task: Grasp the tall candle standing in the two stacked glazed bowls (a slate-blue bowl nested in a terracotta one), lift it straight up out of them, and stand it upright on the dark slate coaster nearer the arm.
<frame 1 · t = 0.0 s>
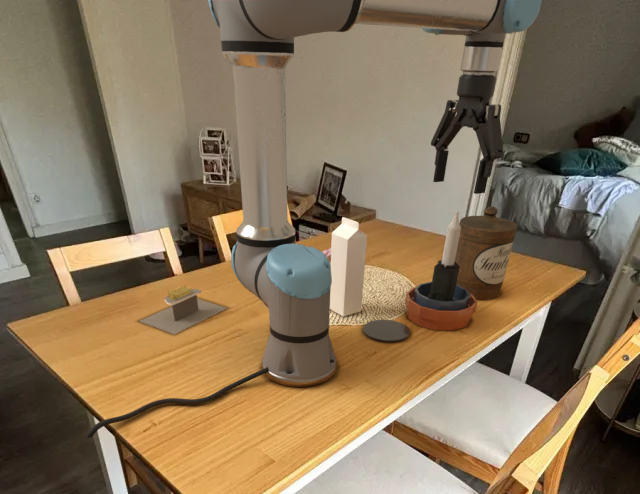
hand: (457, 187, 111), 28 cm above the table, tool pointing down, fingers open, 13 cm apart
rabbit figure: (336, 259, 154), on the table
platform: (184, 315, 118), on the table
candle: (437, 317, 121), resting in stacked bowls
wooden container: (472, 290, 136), on the table
stacked bowls: (437, 316, 121), on the table
slate coaster: (386, 331, 113), on the table
milk: (344, 310, 123), on the table
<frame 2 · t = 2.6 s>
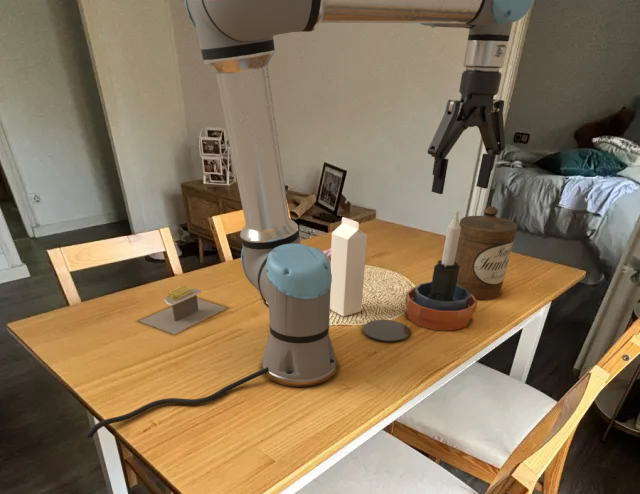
hand: (460, 190, 105), 29 cm above the table, tool pointing down, fingers open, 13 cm apart
nothing on the table moved.
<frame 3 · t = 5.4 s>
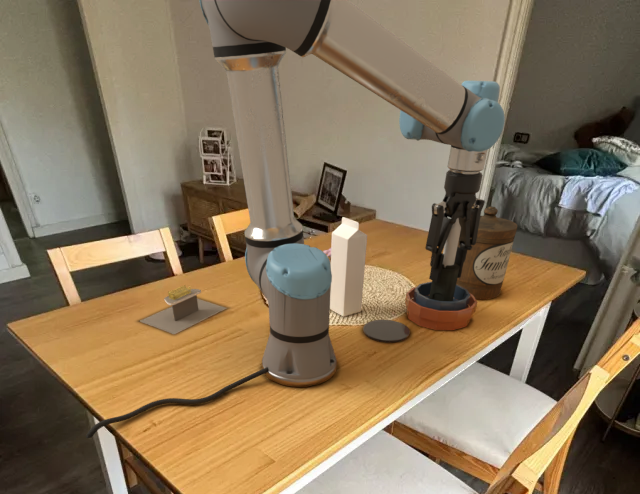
hand: (444, 277, 115), 10 cm above the table, tool pointing down, fingers closed on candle, 6 cm apart
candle: (437, 317, 121), resting in stacked bowls, touching gripper
everything else where it was.
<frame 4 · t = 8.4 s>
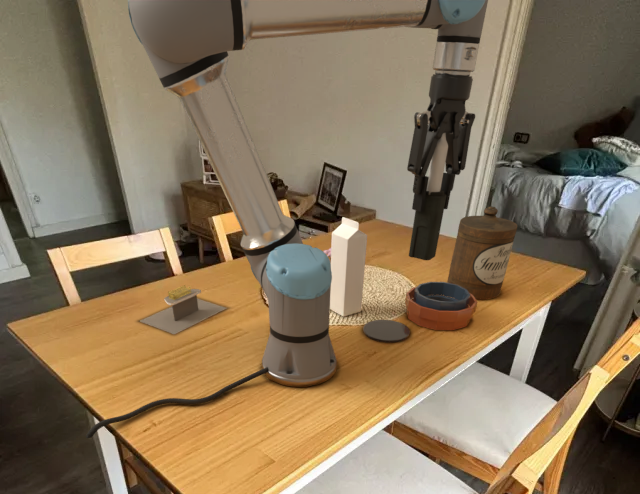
hand: (429, 208, 101), 26 cm above the table, tool pointing down, fingers closed on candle, 6 cm apart
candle: (421, 256, 107), point 16 cm above the table, touching gripper
everything else where it was.
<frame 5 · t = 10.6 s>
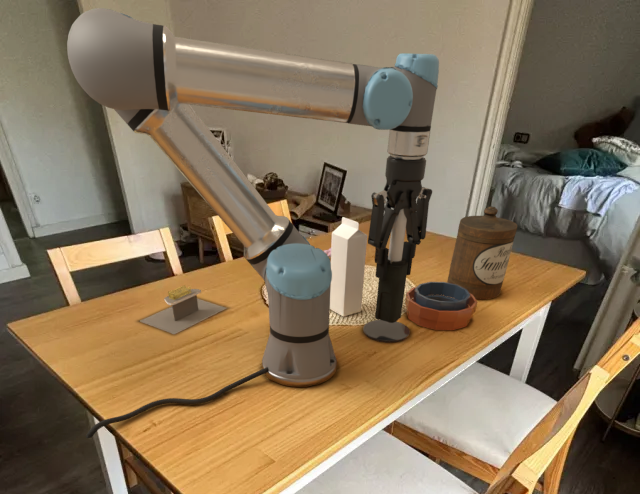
hand: (392, 275, 105), 14 cm above the table, tool pointing down, fingers closed on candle, 6 cm apart
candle: (387, 318, 111), point 4 cm above the table, touching gripper
everything else where it was.
when the fingers open (10 cm above the table, at t = 11.9 s): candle stays where it is, resting on slate coaster.
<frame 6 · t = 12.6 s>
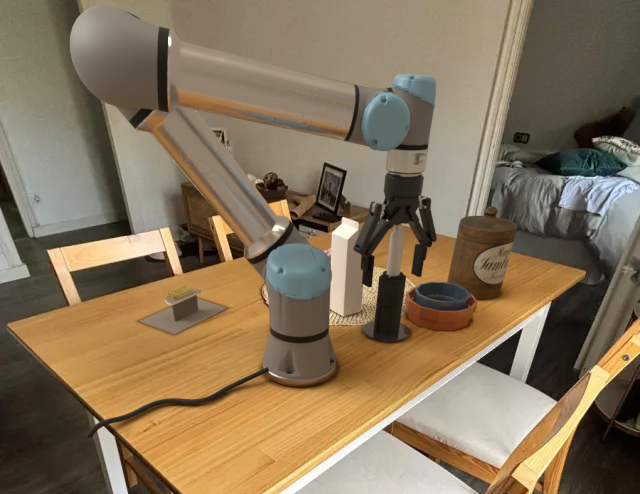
hand: (392, 280, 106), 13 cm above the table, tool pointing down, fingers open, 13 cm apart
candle: (386, 330, 113), resting on slate coaster
everything else where it was.
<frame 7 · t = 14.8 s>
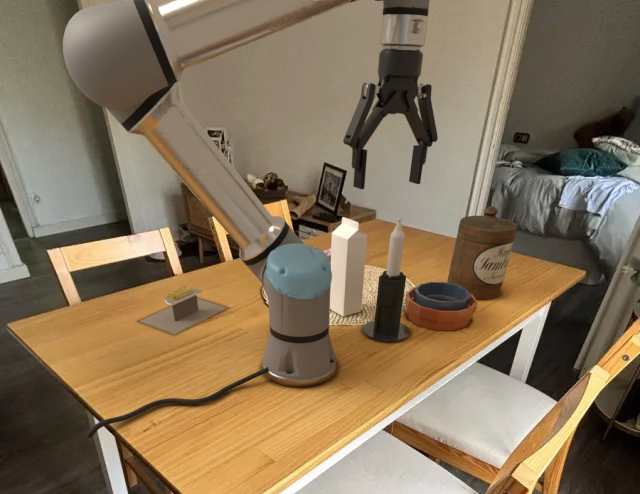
hand: (387, 185, 95), 31 cm above the table, tool pointing down, fingers open, 13 cm apart
nothing on the table moved.
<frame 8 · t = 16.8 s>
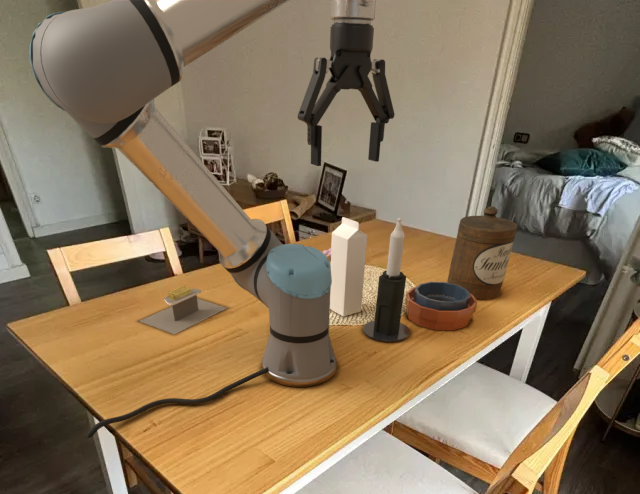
hand: (345, 162, 95), 35 cm above the table, tool pointing down, fingers open, 13 cm apart
nothing on the table moved.
at the end: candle 0.0 cm off-centre on the slate coaster, point 0.4 cm above the slate coaster's base; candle tilted 0°; the gripper is holding nothing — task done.
